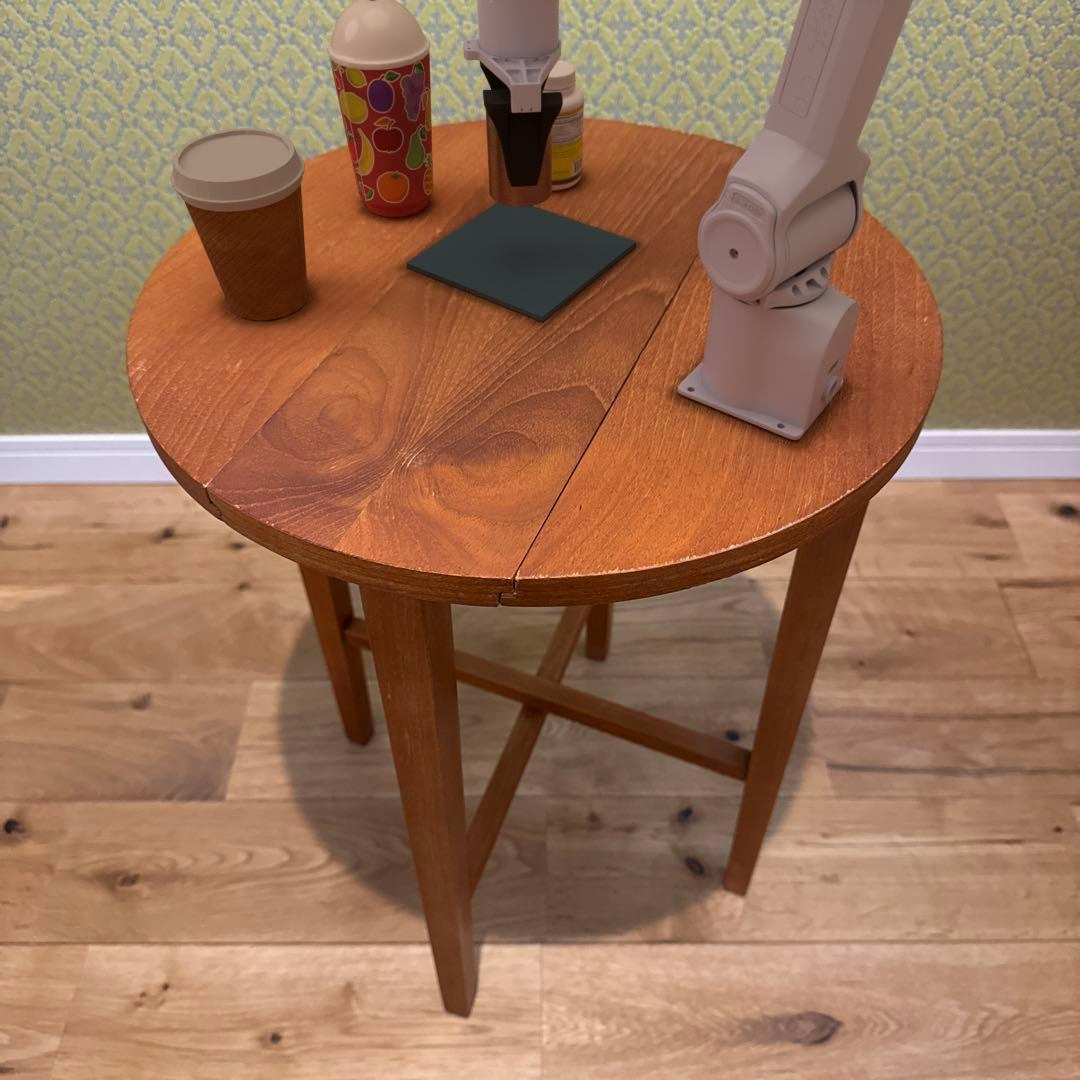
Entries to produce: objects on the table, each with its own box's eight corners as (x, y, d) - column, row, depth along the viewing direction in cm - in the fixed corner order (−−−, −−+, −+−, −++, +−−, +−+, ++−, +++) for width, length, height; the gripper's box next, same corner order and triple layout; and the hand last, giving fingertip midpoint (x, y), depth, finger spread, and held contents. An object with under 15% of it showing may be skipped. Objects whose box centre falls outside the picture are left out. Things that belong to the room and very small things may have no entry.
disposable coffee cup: (184, 301, 78) (139, 155, 69) (281, 255, 83) (250, 114, 74) (255, 348, 74) (216, 199, 65) (352, 297, 78) (328, 151, 70)
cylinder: (563, 188, 78) (565, 99, 73) (527, 213, 75) (526, 123, 70) (513, 171, 80) (511, 84, 75) (476, 195, 77) (471, 106, 72)
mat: (636, 246, 84) (636, 241, 83) (542, 322, 76) (542, 316, 75) (506, 201, 89) (506, 196, 89) (406, 267, 81) (406, 262, 81)
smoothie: (393, 173, 93) (365, -64, 79) (461, 197, 90) (444, -46, 75) (332, 208, 88) (290, -37, 74) (401, 235, 85) (371, -17, 71)
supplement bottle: (516, 170, 93) (513, 59, 86) (570, 162, 95) (572, 52, 87) (532, 197, 90) (531, 83, 82) (589, 188, 91) (593, 75, 83)
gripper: (456, -55, 71) (467, 129, 81) (461, 14, 61) (473, 215, 71) (552, -58, 71) (551, 126, 81) (573, 10, 61) (569, 210, 71)
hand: (521, 167), depth 76 cm, fingers closed on cylinder, 5 cm apart
